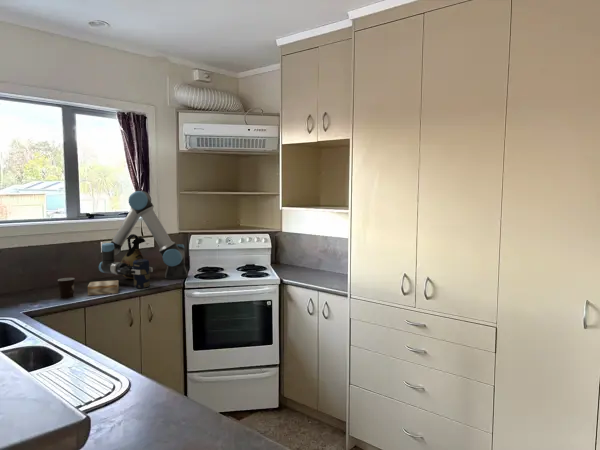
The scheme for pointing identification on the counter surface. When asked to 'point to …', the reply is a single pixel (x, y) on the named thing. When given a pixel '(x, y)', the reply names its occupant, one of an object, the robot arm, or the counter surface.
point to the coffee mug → (66, 287)
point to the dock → (103, 287)
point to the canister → (141, 273)
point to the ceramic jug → (132, 253)
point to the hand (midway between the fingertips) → (146, 270)
